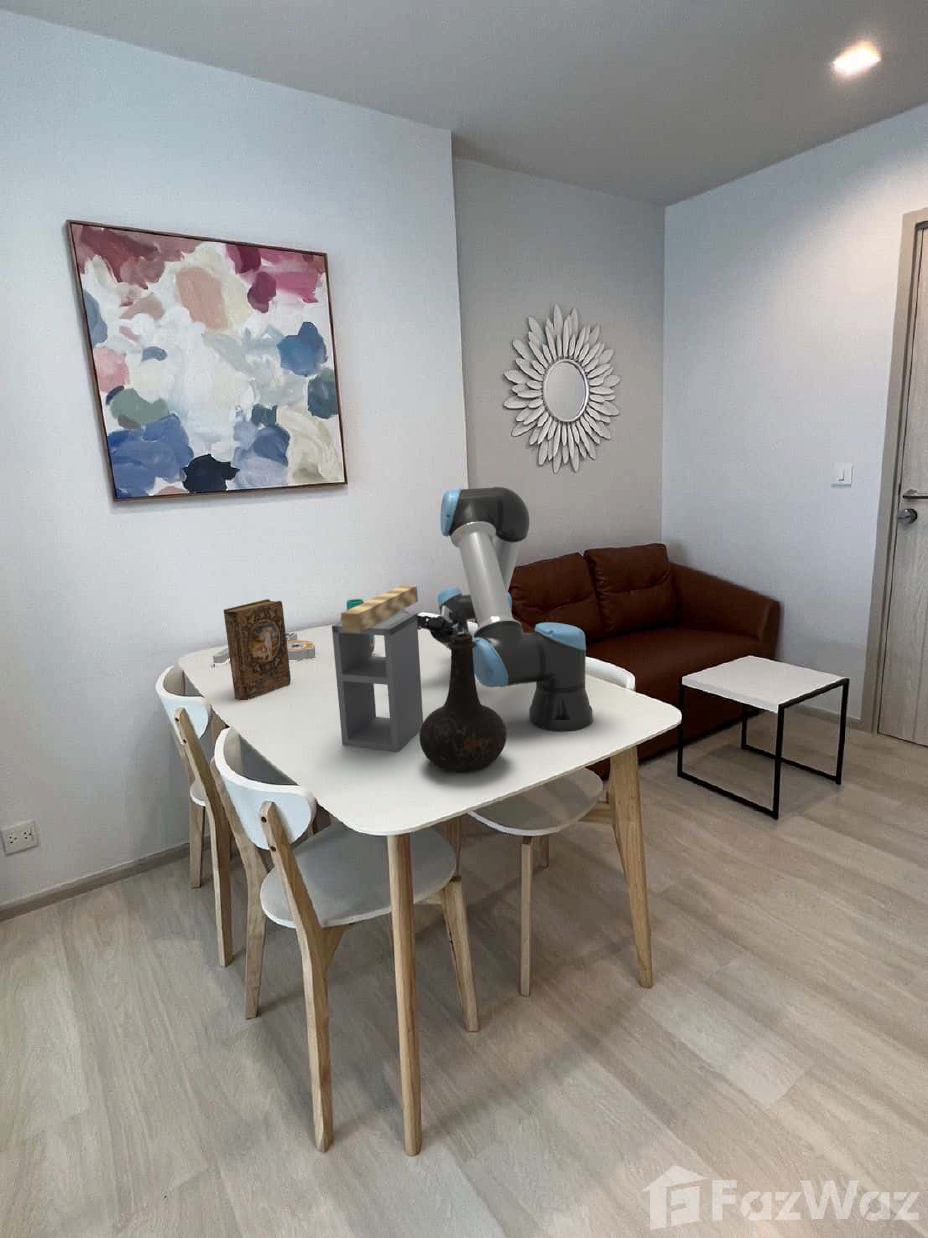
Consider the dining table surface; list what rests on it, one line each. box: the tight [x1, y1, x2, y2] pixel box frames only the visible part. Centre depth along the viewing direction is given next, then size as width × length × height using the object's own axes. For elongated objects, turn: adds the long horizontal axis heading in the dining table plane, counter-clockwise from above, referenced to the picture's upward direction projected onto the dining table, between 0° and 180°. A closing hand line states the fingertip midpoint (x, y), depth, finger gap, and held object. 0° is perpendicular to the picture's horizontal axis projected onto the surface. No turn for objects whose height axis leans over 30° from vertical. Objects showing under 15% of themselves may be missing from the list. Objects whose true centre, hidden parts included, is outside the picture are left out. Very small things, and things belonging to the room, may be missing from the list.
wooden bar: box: [340, 584, 419, 633], centre depth 152 cm, size 30×4×4 cm, turn 160°
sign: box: [212, 631, 316, 664], centre depth 225 cm, size 30×4×30 cm
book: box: [223, 598, 292, 701], centre depth 187 cm, size 16×6×25 cm, turn 145°
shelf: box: [331, 612, 424, 753], centre depth 153 cm, size 14×14×28 cm
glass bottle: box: [419, 633, 508, 774], centre depth 137 cm, size 18×18×28 cm
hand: (418, 609), depth 172 cm, fingers open, 13 cm apart
